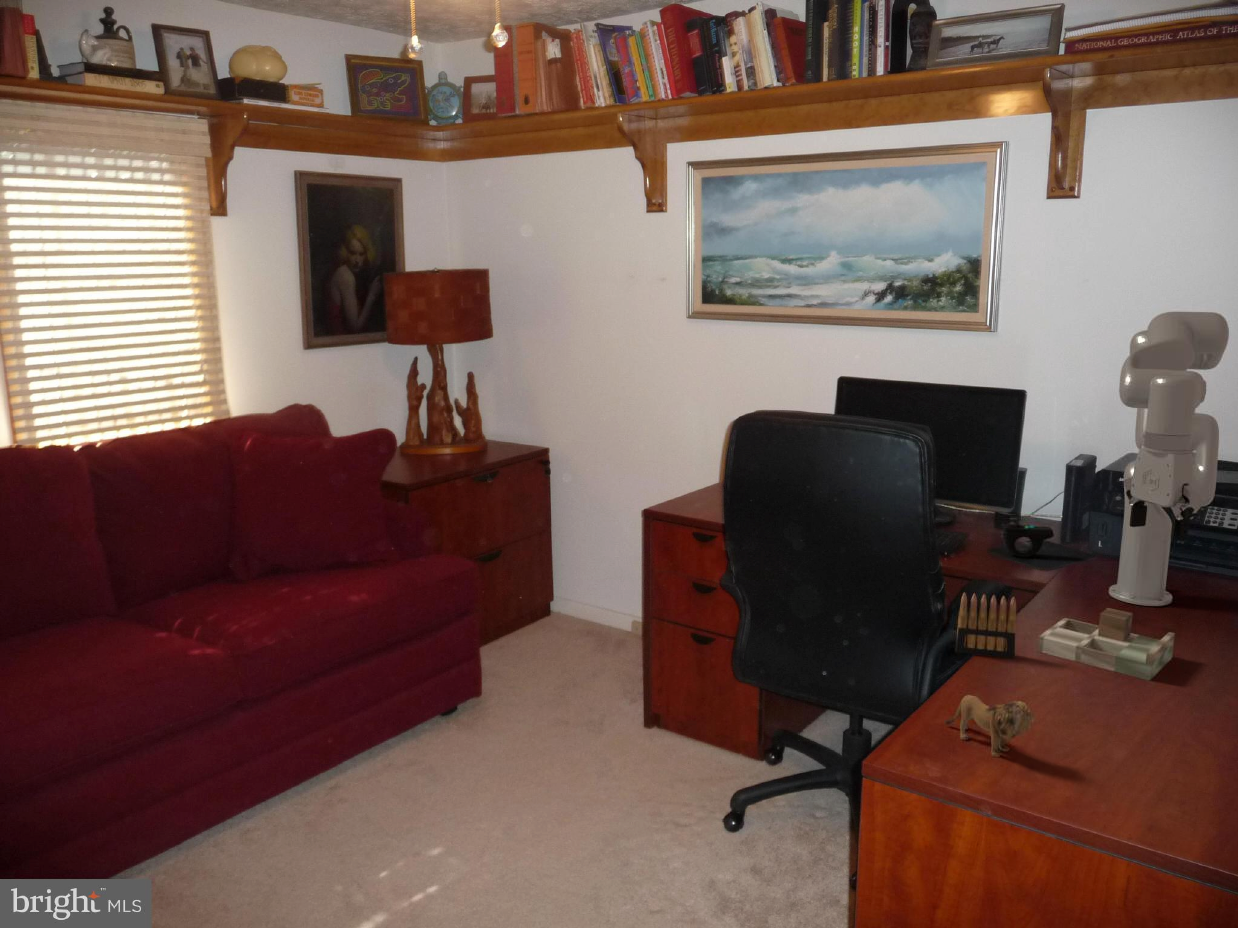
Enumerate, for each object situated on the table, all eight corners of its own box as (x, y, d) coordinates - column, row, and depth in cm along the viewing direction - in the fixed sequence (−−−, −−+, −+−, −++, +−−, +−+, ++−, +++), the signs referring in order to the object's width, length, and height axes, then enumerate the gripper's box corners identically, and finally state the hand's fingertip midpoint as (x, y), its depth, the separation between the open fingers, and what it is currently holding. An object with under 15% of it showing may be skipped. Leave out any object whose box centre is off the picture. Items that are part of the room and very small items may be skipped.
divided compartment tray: (1063, 631, 198) (1065, 608, 197) (1171, 657, 184) (1174, 633, 183) (1037, 651, 188) (1039, 626, 187) (1149, 680, 174) (1152, 654, 173)
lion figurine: (1036, 757, 148) (1041, 702, 146) (1016, 767, 145) (1021, 711, 143) (954, 721, 159) (957, 670, 158) (934, 730, 156) (937, 678, 155)
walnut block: (1105, 629, 191) (1107, 607, 190) (1130, 635, 188) (1132, 613, 187) (1097, 635, 188) (1100, 613, 187) (1122, 641, 185) (1125, 619, 184)
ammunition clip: (1013, 654, 186) (1018, 595, 184) (1014, 658, 185) (1019, 598, 182) (955, 648, 189) (959, 590, 187) (955, 652, 188) (959, 593, 185)
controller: (998, 552, 252) (1001, 515, 250) (1049, 555, 249) (1053, 518, 247) (1001, 557, 248) (1004, 519, 246) (1052, 560, 245) (1056, 522, 243)
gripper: (1114, 435, 184) (1106, 522, 187) (1189, 452, 168) (1178, 547, 171) (1147, 434, 186) (1138, 520, 189) (1224, 449, 170) (1212, 543, 173)
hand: (1157, 532), depth 180 cm, fingers open, 9 cm apart
